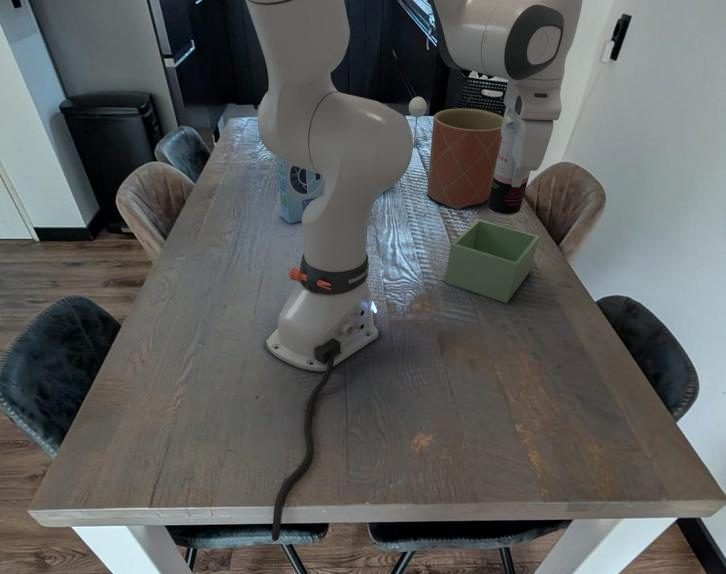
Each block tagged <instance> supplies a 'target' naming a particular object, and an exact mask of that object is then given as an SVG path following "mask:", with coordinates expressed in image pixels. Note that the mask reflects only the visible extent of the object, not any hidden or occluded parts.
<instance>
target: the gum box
mask: <svg viewBox="0 0 726 574" xmlns="http://www.w3.org/2000/svg"><path fill="white" fill-rule="evenodd" d="M275 162H276V171H277V181H278V190H279V201H280V212H281V218H282V219H283V220H285V221H286V222H287V223H288V224H289V225H291V224H295V223H298V222H302V215H303V212H304V210H305V209H306V207H307V206H308V204H309V203H310V202H311V201H313V200H314V199H316V198H318V197H320V196H322V195H324V189H325V182H324V178H323V175H321V174H318V173H315V172H312V171H308V170H305V169H302V168H299V167H296V166H293V165H290V164H289V163H287V162H285V161H284V160H282V159H280V158H279V157H277V156H276V155H275Z"/></svg>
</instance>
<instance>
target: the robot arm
mask: <svg viewBox="0 0 726 574" xmlns="http://www.w3.org/2000/svg"><path fill="white" fill-rule="evenodd" d="M244 1H245V3H246V6H247V9H248V12H249V14H250V15H249V16H250V17H251V21H252V23H253V26H254V29H255V32H256V35H257V39H258V42H259V45H260V47H261V51H262V54H263V57H264V61H265V66H266V70H267V71H266V72H267V79H268V86H267V87H268V88H267V89H268V90H267V91H266V92H265V94H264V96H263V97H262V99H261V101H260V104H259V107H258V112H257V131H258V134H259V138H260V140H261V143H262V144H263V147H265V149H266V150H267V151H268V152H270V153H272V154H273V155H274V156H275V157H276V156H277V157H279V158H280V159H282V160H284V161H285V162H287V163H289V164H290V165H293V166H296V167H299V168H302V169H305V170H308V171H312V172H315V173H318V174H321V175H323V178H324V182H325V189H324V195H322V196H320V197H318V198H316V199H314V200H313V201H311V202H310V203H309V204H308V206H307V207H306V209H305V210H304V212H303V215H302V221H301V230H302V231H301V232H302V233H301V234H302V244H303V245H302V246H303V254H302V256H301V261H300V267H299V269H298V268H295V267H292V268H291V269H290V270H289V273H288V275H289V276H288V278H289V279H290V280H291V281H296V282H297V283H296V285H295V287H294V289H293V290H292V292H291V294H290V295H289V297H288V298H287V300H286V302H285V304H284V306H283V308H282V310H281V311H280V313H279V314H278V320H277V327H276V329H275V330H274V331H273V332H272V333H271V334H270V336H268V338H267V340H266V347H267V350H269V352H270V353H271V354H272V355H273V356H275V357H276V358H278V359H279V360H281V361H283V362H285V363H287V364H289V365H292V366H294V367H295V368H299V369H302V370H306V371H310V372H325V373H324V375H323V377H322V378H321V380H320V381H319V383H318V384H316V386H315V388H314V389H313V391H312V393H311V395H310V397H309V399H308V403H307V406H306V411H305V417H304V425H303V427H304V428H303V431H304V438H305V443H306V450H305V451H306V452H305V454H304V455H305V456H304V458H303V460H302V462H301V464H300V465H299V466H298V467H297V468H296V469H295V470H294V471H293V472H292V473H291V474H290V475H289V476H288V478H287V479H286V480H285V481H284V483H282V485H281V488H280V489H279V492H278V494H277V496H276V499H275V503H274V506H273V507H274V509H273V517H272V530H271V540H272V541H273V542H277V541H278V540H279V539H280V535H281V522H282V510H283V505H284V500H285V498H286V495H287V493H288V491H289V489H290V487H291V486H292V484H294V482H295V481H296V480H297V479H298V478H299V477H300V476H301V475H302V474H303V473H304V472H305V470H306V469H307V468H308V466H309V465H310V463H311V460H312V458H313V456H314V455H313V454H314V442H313V441H314V440H313V436H312V435H313V434H312V427H311V426H312V417H313V411H314V406H315V403H316V402H317V401H316V400H317V398H318V396H319V394H320V392H321V391H322V390H323V388H324V387H325V385H326V384H327V383H328V381H329V379H330V377H331V376H332V373H333V369H334V367H335V366H337V365H338V364H340V363H341V362H342V361H344V360H346V359H347V358H348V357H350V356H352V355H354V353H356V352H358V351H359V350H361V349H362V348H364V347H366V346H367V345H369V344H370V343H371V342H373V341H375V340H376V339H377V338H378V337H379V330H378V328H377V327H376V326H375V324H374V313H375V314H376V313H377V308H376V305H375V303H374V301H373V295H372V293H371V289H370V287H369V284H368V281H367V279H368V277H369V269H370V262H369V254H368V253H367V247H368V245H367V243H368V230H369V220H370V215H371V212H372V210H373V207H374V204H375V203H376V202H377V200H378V198H379V197H380V196H381V195H382V194H383V193H384V192H386V191H387V190H388V189H390V188H392V187H393V186H395V185H396V184H397V183H398V182H399V181H400V180H401V179H402V178H403V177H404V175H405V173H406V172H407V170H408V168H409V166H410V164H411V160H412V157H413V152H414V147H413V145H414V137H413V136H414V135H413V132H412V128H411V125H410V123H409V120H408V119H407V118H406V116H405V115H403V114H402V113H401V112H398V111H397V110H395V109H393V108H391V106H390V107H389V106H388V105H386V104H384V103H383V102H380V101H377V100H374V99H370V98H365V97H362V96H361V97H360V96H357V95H352V94H349V93H348V94H347V93H344V92H340V91H339V90H337V88H336V87H335V85H334V83H333V80H332V76H331V73H332V72H333V71H334V70H335V69H336V68H337V67H338V66H339V65H340V64H341V62H342V61H343V59H344V58H345V55H346V54H347V53H346V52H347V49H348V46H349V43H350V39H351V38H350V36H351V30H350V29H351V28H350V24H349V18H348V15H347V14H348V13H347V8H346V4H345V0H244ZM428 2H429V6H430V8H431V11H432V15H433V20H434V26H435V33H436V40H437V41H436V42H437V47H438V52H439V54H440V58H441V60H442V61H443V62H444V64H445V65H446V66H447V67H449V68H451V69H454V70H461V71H471V72H475V73H479V74H481V75H482V74H483V75H486V76H490V77H495V78H498V79H503V80H507V84H506V90H505V93H504V98H503V105H504V106H505V110H504V114H503V116H502V117H503V122H502V126H501V136H503V132H504V128H505V127H506V124H507V123H509V122H513V123H512V125H513V126H514V127H515V129H516V130H517V131H518V133H517V132H516V136H515V140H514V144H513V148H512V154H511V155H512V157H513V159H514V161H515V163H516V164H515V171H514V174H512V177H511V181H510V183H511V185H512V187H520V186H521V184H522V180H523V177H524V176H525V174H526V172H527V171H530V172H535V171H538V170H539V168H540V167H541V166H542V164H543V162H544V159H545V155H546V153H547V150H548V147H549V144H550V141H551V137H552V134H553V130H554V121H558V120H559V119H560V117H561V113H562V109H563V105H562V100H561V91H562V83H563V80H564V76H565V71H566V70H565V69H566V68H565V66H566V60H567V57H568V55H569V52H570V50H571V48H572V46H573V43H574V40H575V36H576V33H577V29H578V25H579V21H580V18H581V12H582V7H583V3H584V0H428Z"/></svg>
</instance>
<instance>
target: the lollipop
mask: <svg viewBox="0 0 726 574" xmlns="http://www.w3.org/2000/svg"><path fill="white" fill-rule="evenodd" d="M427 108H428V106H427V102H426V100H425V99H424V98H423V97H422V96H415V97H413V98H412V99H411V100H410V102H409V103H408V112H409V114H410V115H411V116H412V117H413V118H415V123H414V124H415V125H414V135H413V136H414V137H413V148H415V147H416V139H417V138H416V137H417V128H418V118H421V117H423V116H424V115H425V113H426V112H427Z"/></svg>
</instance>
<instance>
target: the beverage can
mask: <svg viewBox="0 0 726 574" xmlns="http://www.w3.org/2000/svg"><path fill="white" fill-rule="evenodd" d="M512 123H513V122H509V123H507V124H506V127H505V128H504V132H503V136H502V141H501V145H500V150H499V155H498V159H497V164H496V168H495V173H494V177H493V182H492V186H491V191H490V194H489V197H488V200H487V208H488V210H489V211H490V212H491V213H493V214H495V215H498V216H503V217H507V216H514V215H516V214H518V213H519V212H520V211H521V209H522V204H523V200H524V197H525V193H526V189H527V185H528V182H529V179H530V175H531V171H527V172H526V174H525V176H524V177H523V180H522V184H521V186H520V187H512V185H511V183H510V181H511V177H512V174H514V171H515V164H516V163H515V161H514V159H513V157H512V155H511V154H512V148H513V144H514V140H515V136H516V132H517V133H518V131H517V130H516V129H515V127H514V126H513V125H512Z"/></svg>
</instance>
